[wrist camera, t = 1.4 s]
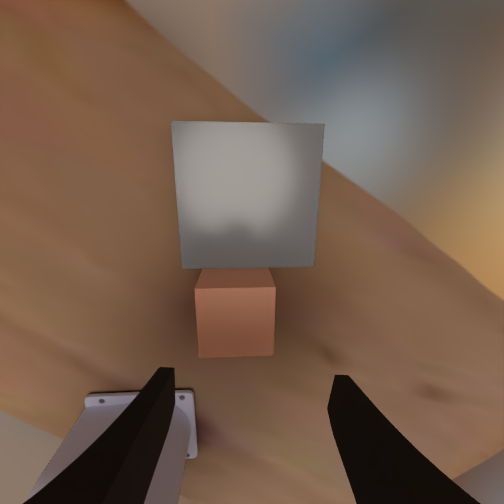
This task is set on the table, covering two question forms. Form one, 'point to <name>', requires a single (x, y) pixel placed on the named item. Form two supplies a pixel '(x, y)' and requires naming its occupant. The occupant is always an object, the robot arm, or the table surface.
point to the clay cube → (235, 312)
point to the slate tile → (247, 193)
